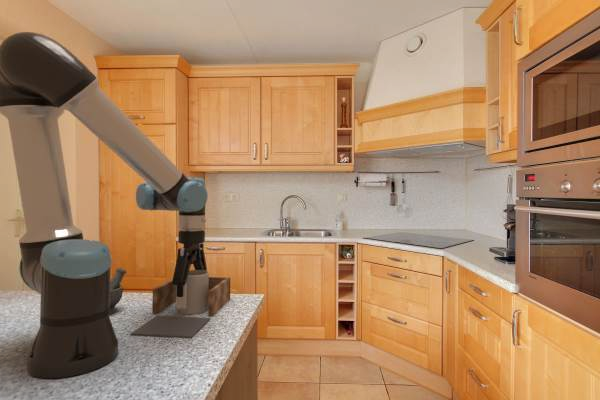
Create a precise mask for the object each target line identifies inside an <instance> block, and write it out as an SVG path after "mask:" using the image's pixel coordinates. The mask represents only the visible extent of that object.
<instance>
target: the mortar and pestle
mask: <svg viewBox="0 0 600 400" xmlns="http://www.w3.org/2000/svg"><path fill="white" fill-rule="evenodd" d="M115 271H116V272H115V273H114V275H113V276H112V278H111V279H110V306H109V315H112V314H113V313H115V312H116V305H118V304H119V303H120V301H121V299H122V298H123V291H124V290H123V289H124V287H123V285H121V283H122V281H123V278H124V276H125V275H126V274H127V270H126V269H124V268H120V267H117V268H116V269H115Z"/></svg>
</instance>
